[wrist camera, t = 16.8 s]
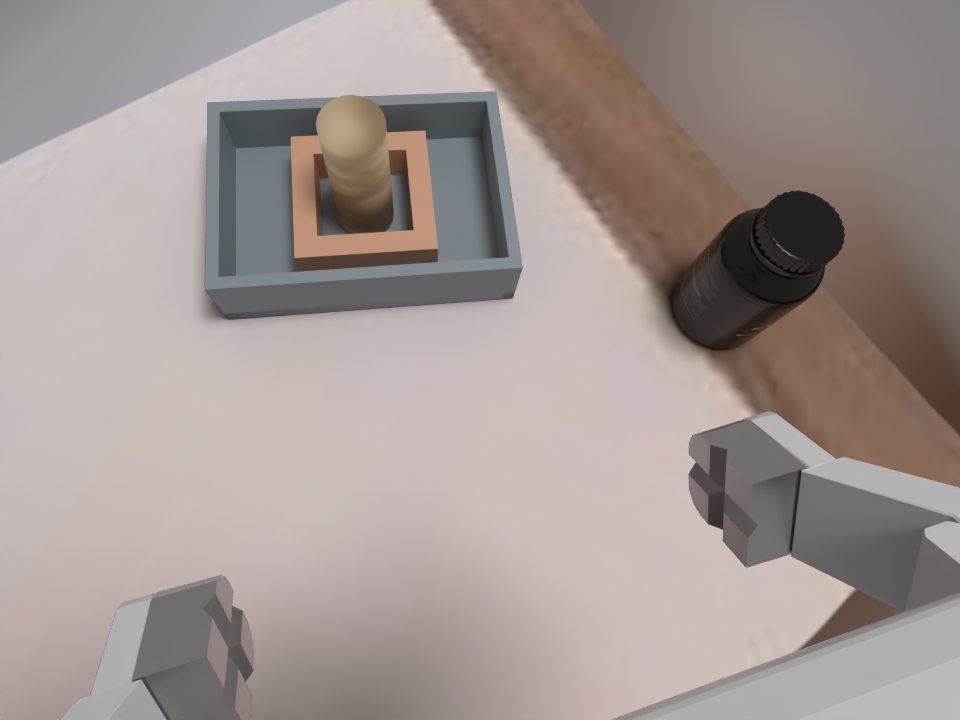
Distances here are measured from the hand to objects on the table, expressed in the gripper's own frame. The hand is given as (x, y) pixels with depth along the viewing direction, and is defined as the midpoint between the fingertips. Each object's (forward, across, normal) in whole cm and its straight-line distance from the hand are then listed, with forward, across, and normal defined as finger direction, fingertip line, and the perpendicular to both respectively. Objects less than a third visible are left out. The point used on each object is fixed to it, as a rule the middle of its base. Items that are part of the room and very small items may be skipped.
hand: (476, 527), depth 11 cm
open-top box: (+40, -1, +5) cm, 40 cm away
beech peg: (+39, -1, +4) cm, 39 cm away
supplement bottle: (+30, -24, +14) cm, 42 cm away
